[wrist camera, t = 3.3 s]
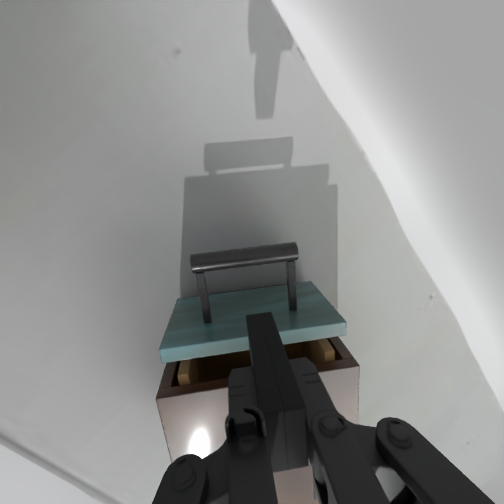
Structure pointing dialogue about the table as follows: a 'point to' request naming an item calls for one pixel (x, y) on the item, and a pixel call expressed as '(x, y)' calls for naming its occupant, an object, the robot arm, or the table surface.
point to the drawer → (234, 317)
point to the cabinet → (217, 409)
